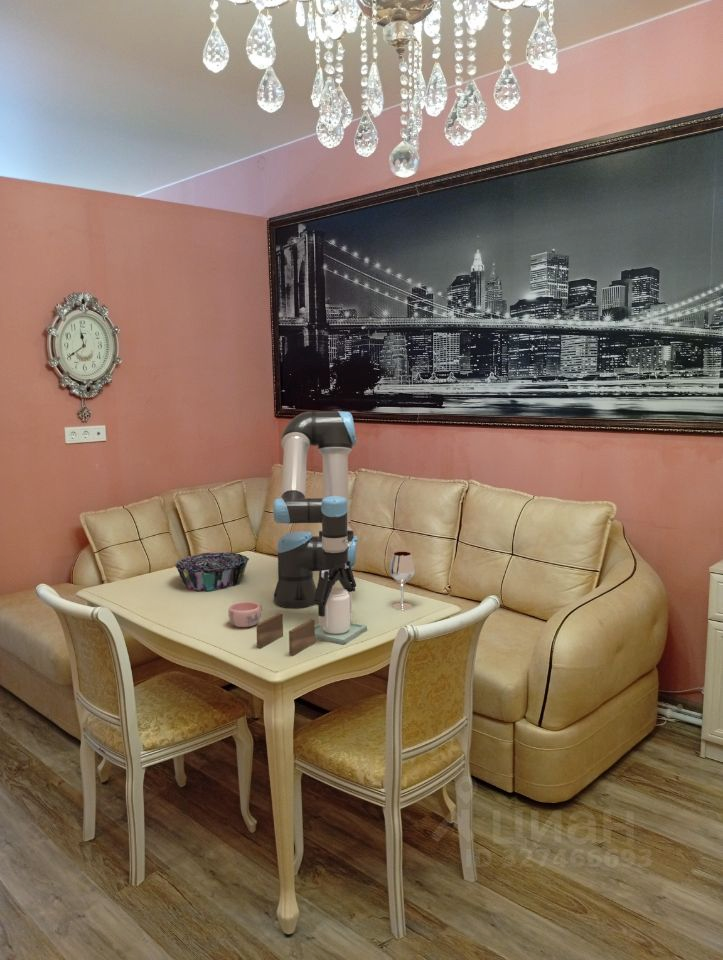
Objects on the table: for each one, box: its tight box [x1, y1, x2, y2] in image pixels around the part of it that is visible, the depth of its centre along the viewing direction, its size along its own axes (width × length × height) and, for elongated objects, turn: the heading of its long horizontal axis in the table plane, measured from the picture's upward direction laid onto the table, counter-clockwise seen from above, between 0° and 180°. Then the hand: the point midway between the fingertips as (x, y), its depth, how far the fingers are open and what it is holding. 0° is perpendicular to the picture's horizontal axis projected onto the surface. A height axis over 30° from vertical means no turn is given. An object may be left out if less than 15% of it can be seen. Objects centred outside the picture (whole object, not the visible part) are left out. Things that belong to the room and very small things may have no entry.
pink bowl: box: [227, 601, 263, 628], centre depth 233 cm, size 12×10×6 cm
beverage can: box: [323, 587, 351, 634], centre depth 224 cm, size 8×8×12 cm
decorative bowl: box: [174, 551, 250, 592], centre depth 275 cm, size 26×28×10 cm
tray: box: [315, 621, 368, 646], centre depth 225 cm, size 14×14×2 cm
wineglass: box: [389, 551, 416, 611], centre depth 247 cm, size 8×8×18 cm
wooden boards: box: [255, 612, 316, 657], centre depth 215 cm, size 12×11×7 cm
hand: (335, 619), depth 224 cm, fingers open, 13 cm apart
